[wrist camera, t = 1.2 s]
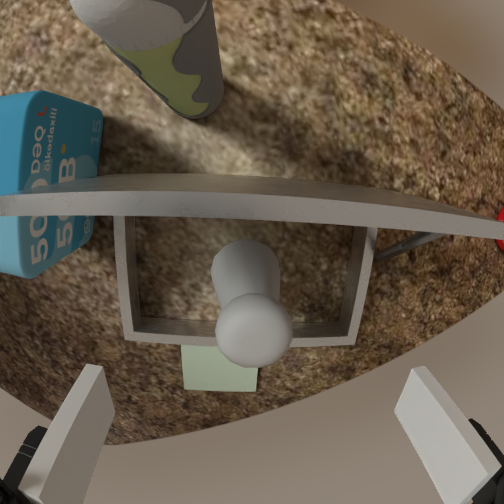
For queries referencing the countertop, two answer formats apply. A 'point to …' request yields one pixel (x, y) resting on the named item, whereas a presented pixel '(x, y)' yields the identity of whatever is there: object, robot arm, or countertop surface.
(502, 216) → the beverage can
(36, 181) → the data package
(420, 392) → the robot arm
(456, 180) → the countertop surface
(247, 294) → the salt shaker
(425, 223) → the case
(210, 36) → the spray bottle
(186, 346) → the pad
